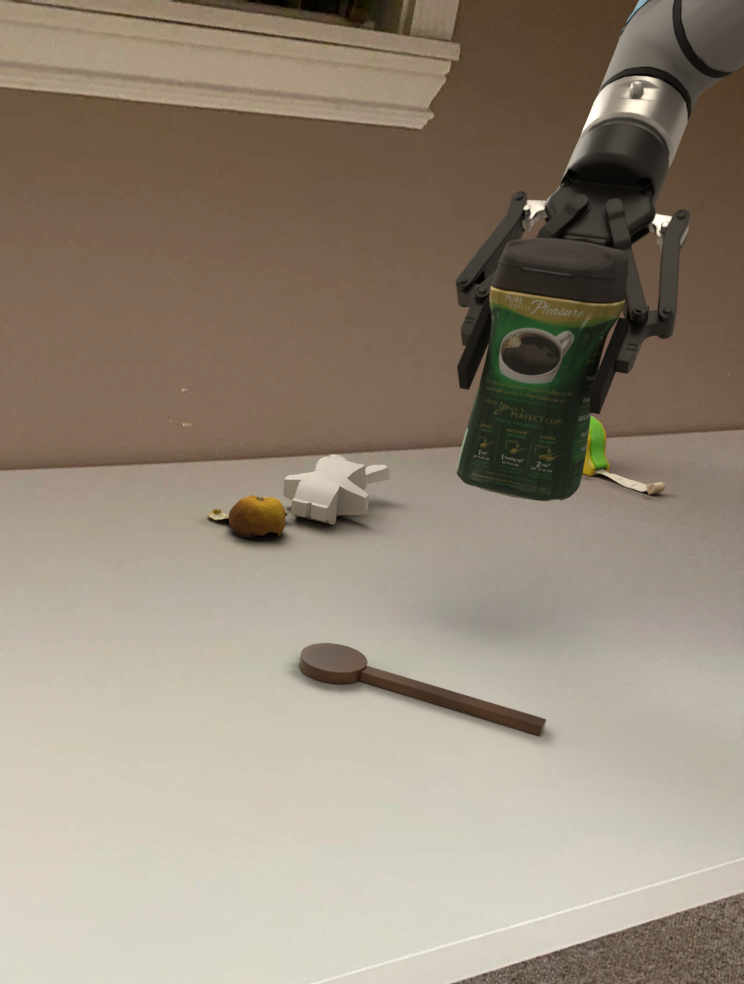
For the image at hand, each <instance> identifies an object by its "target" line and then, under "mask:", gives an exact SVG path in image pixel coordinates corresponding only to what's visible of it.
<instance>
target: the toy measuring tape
mask: <svg viewBox="0 0 744 984" xmlns="http://www.w3.org/2000/svg"><path fill="white" fill-rule="evenodd" d="M606 446H607V433H606V429H605V427H604V425H603V424H602V422H601V421H599V420H598V419H597V418H596V417H594V416H592V415H591V418H590V426H589V434H588V441H587V449H586V456H585V463H584V468H583V473H582V475H585V476H588V477H592V476H597V475H598V476H599V475H603V476H605V477H607V478H609V479H610V480H612V481H614V482H615V483H617V484H618V485H619V486H620V485H621V486H623V487H625V488H627V489H631V490H634V491H637V492H640V493H646V492H647V495H655V494H659V493H662V492H664V491H665V489H666V484H665V483H664V482H663V481H660V482H659V481H658V482H653V483H648V484H646V483H642V482H640V481H637V480H633V479H630V478H626V477H623V476H621V475H618V474H616V473H610V468H611V465H610V463H609V461H608V459H607V454H606V453H607V452H606V448H607V447H606Z"/></svg>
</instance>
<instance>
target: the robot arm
mask: <svg viewBox="0 0 744 984" xmlns="http://www.w3.org/2000/svg"><path fill="white" fill-rule="evenodd" d="M617 41H618V42H617V45H616V48H615V49H614V52H613V54H612V57H611V60H610V62H609V65H608V68H607V70H606V71H605V72H606V73H605V75H604V78H603V80H602V83H601V85H600V88H599V89H598V93H597V95H596V98H595V100H594V101H593V104H592V106H591V109H590V112H589V114H588V116H587V119H586V121H585V123H584V126H583V128H582V130H581V133H580V136H579V138H578V141H577V143H576V145H575V147H574V148H573V151H572V153H571V156H570V158H569V161H568V163H567V165H566V168H565V170H564V173H563V175H562V178H561V180H560V183H559V185H558V188H556V190H555V191H554V192H553V193H552V194H551V195H549V196H548V198H547V199H546V200H543V199H542V200H541V199H528V194H527V192H525V191H524V190H518V191H515V192H514V193H512V196H511V198H510V201H509V205H508V208H507V211H506V214H504V216H503V218H502V219H501V220H500V222H499V223H498V224H497V225H496V227H495V228H494V229H493V230H492V232H491V233H490V234H489V236H488V237H487V238H486V239H485V241H484V242H483V243H482V245H481V246H480V247H479V249H478V250H477V251H476V253H474V255H473V256H472V258H471V259H470V260H469V262H468V263H466V265H465V266H464V267H463V269H462V271H461V272H460V273H459V274H458V275H457V277H456V279H455V287H456V296H457V298H456V299H457V304H458V306H459V307H461V308H468V310H467V313H466V315H465V317H464V319H463V322H462V325H461V326H460V336H461V345H462V346H464V349H463V351H462V354H461V356H460V359H459V361H458V364H457V365H456V369H457V371H456V372H457V377H458V379H457V380H458V386H459V389H462V390H467V391H470V389H471V387H472V384H473V382H474V379H475V377H476V374H477V372H478V370H479V367H480V365H481V362H482V361H483V358H484V356H485V353H486V352H487V349H488V344H489V339H490V332H491V323H492V318H491V309H490V301H489V296H490V288H491V286H492V282H493V280H494V276H495V273H496V270H497V268H498V265H499V260H500V258H501V255H502V253H503V250H504V248H505V246H506V245H507V243H508V242H509V241H512V240H519V239H523V237H524V236H523V235H524V233H529V232H531V230H532V227H533V226H534V225H535V224H536V222H538V221H540V220H544V222H545V224H543V225H542V226H541V228H540V229H539V231H538V232H537V235H536V236H535V237H534V238H551V239H565V240H573V241H580V242H586V243H591V244H596V245H601V246H605V247H609V248H614V249H618V250H622V251H625V252H626V253H627V254H628V275H627V285H626V295H625V303H624V307H623V310H622V314H623V317H619V318H618V319H617V321H616V323H615V325H614V329H613V331H612V334H611V337H610V338H609V339H610V340H609V342H608V344H607V346H606V349H605V352H604V354H603V356H602V358H601V361H600V364H599V369H598V372H597V375H596V377H595V380H594V382H593V385H592V387H591V390H590V408H589V412H590V413H591V414H595V415H600V413H601V412H602V409H603V406H604V403H605V401H606V399H607V397H608V394H609V391H610V389H611V386H612V383H613V381H614V378H615V375H616V374H617V373H620V374H626V375H628V374H629V373H630V372H631V371H632V370H633V369H634V365H635V363H636V362H637V361H636V360H637V359H638V355H639V353H640V350H641V347H642V345H643V343H644V342H645V340H647V339H648V338H651V337H656V336H657V337H658V338H659V339H661V340H667V339H669V338H671V337H672V336H673V335H674V331H675V325H676V317H677V310H678V293H679V292H678V290H679V275H680V274H679V273H680V271H679V268H680V254H681V252H682V250H683V248H684V246H685V243H686V242H687V239H688V235H689V234H688V233H689V227H690V221H691V219H690V218H691V212H690V211H689V210H687V209H678V210H675V212H673V215H667V214H661V213H657V211H656V204H657V201H658V199H659V196H660V194H661V192H662V189H663V186H664V184H665V181H666V179H667V176H668V174H669V169H670V168H671V166H672V164H673V161H674V159H675V156H676V153H677V151H678V149H679V146H680V143H681V141H682V138H683V135H684V133H685V130H686V128H687V125H688V123H689V120H690V118H691V115H692V113H693V110H694V108H695V105H696V103H697V101H698V99H699V97H700V96H701V94H703V93H704V92H705V91H706V90H707V89H709V88H710V87H712V86H713V85H715V84H717V83H718V82H719V81H721V80H723V79H724V78H725V77H728V76H730V75H731V74H733V73H735V72H736V71H737V70H739V69H740V68H742V67H743V66H744V0H638V2H637V4H636V5H635V7H634V9H633V11H632V13H631V14H630V15H629V17H628V18H627V20H626V23H625V26H624V27H622V30H621V33H620V36H619V37H618V40H617ZM650 233H653V234H654V236H655V239H654V242H655V245H657V246H658V249H659V250H660V251H661V254H660V262H659V276H658V296H657V309H653V310H650V305H647V302H646V297H645V294H644V290H643V287H642V283H641V279H640V275H639V271H638V267H637V264H636V263H637V262H636V259H635V255H634V252H633V247H632V246H633V245H635V244H637V243H638V242H639V241H641V240H642V239H644V238H645V237H646V236H648V235H649V234H650Z"/></svg>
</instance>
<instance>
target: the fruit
mask: <svg viewBox="0 0 744 984" xmlns="http://www.w3.org/2000/svg"><path fill="white" fill-rule="evenodd" d="M207 516H208V517H209V518H211V519H212V520H214V521H219V520H225V519H228V525H229V529H231V530H232V531H233V533H234V534H235V536H238V537H240V538H241V539H242V538H244V539H250V538H254V537H256V536H265V535H266V534H268V533H274V534H277V537H280V536H281V535H282V534H283V531H284V530H285V527H286V517H287V516H288V512H286V510H285V507H284V505H283V503H282V502H281V500H280V499H278V498H277V497H273V496H267V497H265V496H264V495H263V496H258V495H253V494H252V495H249V496H244V497H242V498H241V499H239V500H238V501H236V503H235V504H234V505H233V506H232V507H231V509H230V510H229V512H228V513H223V511H222V510H221V508H214V509H213V510H211V511H209V512H208V513H207Z"/></svg>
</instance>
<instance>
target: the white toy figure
mask: <svg viewBox="0 0 744 984" xmlns="http://www.w3.org/2000/svg"><path fill="white" fill-rule="evenodd" d="M390 479H391V475H390V472H389V468H388V465H386V464H373V465H369V466H367V467H366V465H365V464H362V463H358V462H353V461H348V460H347V458H345V457H344V456H342V455H339V454H333V453H332V454H329V455H328V456H323V457H321V458H320V459H319V460H317V462H316V464H315V470H314V471H309V472H304V473H296V474H290V475H286V477H285V478H284V481H283V495H282V496H283V497H284V498H286V499H288V500H289V501H291V509H290V514H291V515H294V517H299V518H303V519H307V520H311V521H315V522H320V523H324V524H328V525H333V526H334V525H335V524H336V523H337V516H364V515H366V514H368V510H369V509H368V507H369V500H370V494H369V492H367V491H366V487H367V486H368V485H367V484H373V483H378V482H385V481H388V480H390Z"/></svg>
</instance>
